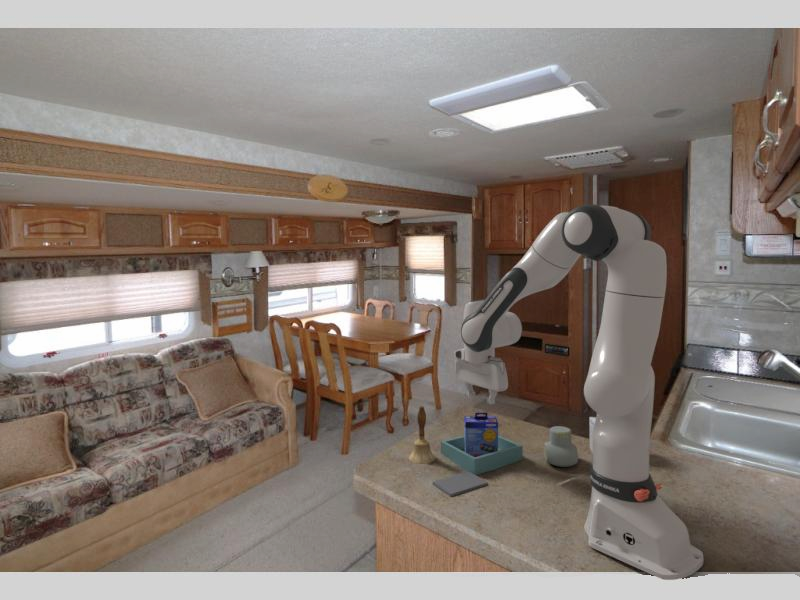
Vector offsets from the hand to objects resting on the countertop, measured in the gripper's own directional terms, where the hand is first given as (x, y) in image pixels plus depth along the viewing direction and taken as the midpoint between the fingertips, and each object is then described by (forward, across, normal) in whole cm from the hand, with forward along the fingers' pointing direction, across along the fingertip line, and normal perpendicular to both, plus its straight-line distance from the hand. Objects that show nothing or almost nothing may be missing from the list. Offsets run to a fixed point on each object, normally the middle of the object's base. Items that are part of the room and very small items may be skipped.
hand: (481, 400), depth 136 cm
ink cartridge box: (+18, +1, 0) cm, 18 cm away
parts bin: (+18, +1, 0) cm, 18 cm away
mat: (+18, -9, +16) cm, 25 cm away
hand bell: (+18, +10, +15) cm, 25 cm away
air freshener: (+18, -14, -17) cm, 29 cm away
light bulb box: (+19, -18, -34) cm, 43 cm away
